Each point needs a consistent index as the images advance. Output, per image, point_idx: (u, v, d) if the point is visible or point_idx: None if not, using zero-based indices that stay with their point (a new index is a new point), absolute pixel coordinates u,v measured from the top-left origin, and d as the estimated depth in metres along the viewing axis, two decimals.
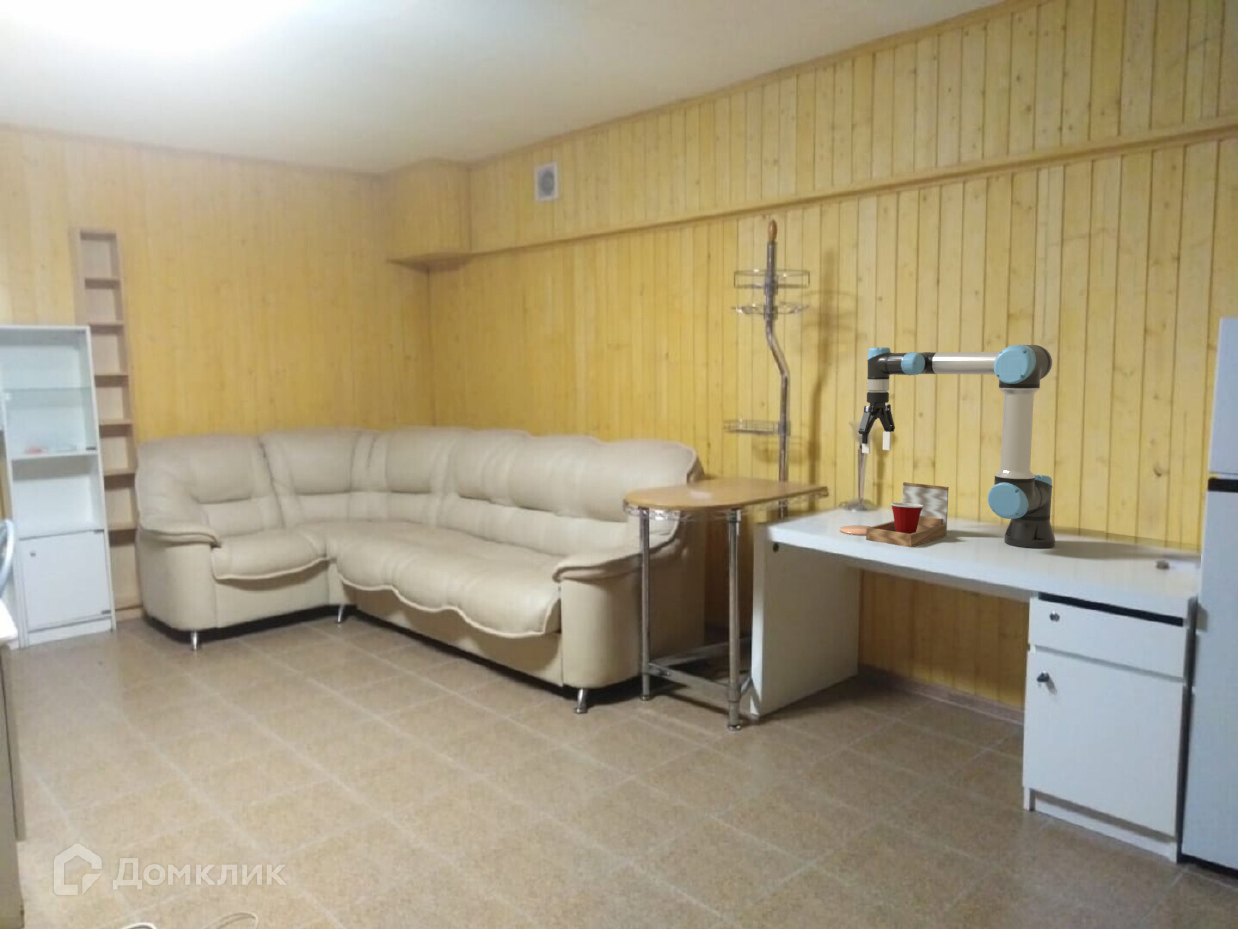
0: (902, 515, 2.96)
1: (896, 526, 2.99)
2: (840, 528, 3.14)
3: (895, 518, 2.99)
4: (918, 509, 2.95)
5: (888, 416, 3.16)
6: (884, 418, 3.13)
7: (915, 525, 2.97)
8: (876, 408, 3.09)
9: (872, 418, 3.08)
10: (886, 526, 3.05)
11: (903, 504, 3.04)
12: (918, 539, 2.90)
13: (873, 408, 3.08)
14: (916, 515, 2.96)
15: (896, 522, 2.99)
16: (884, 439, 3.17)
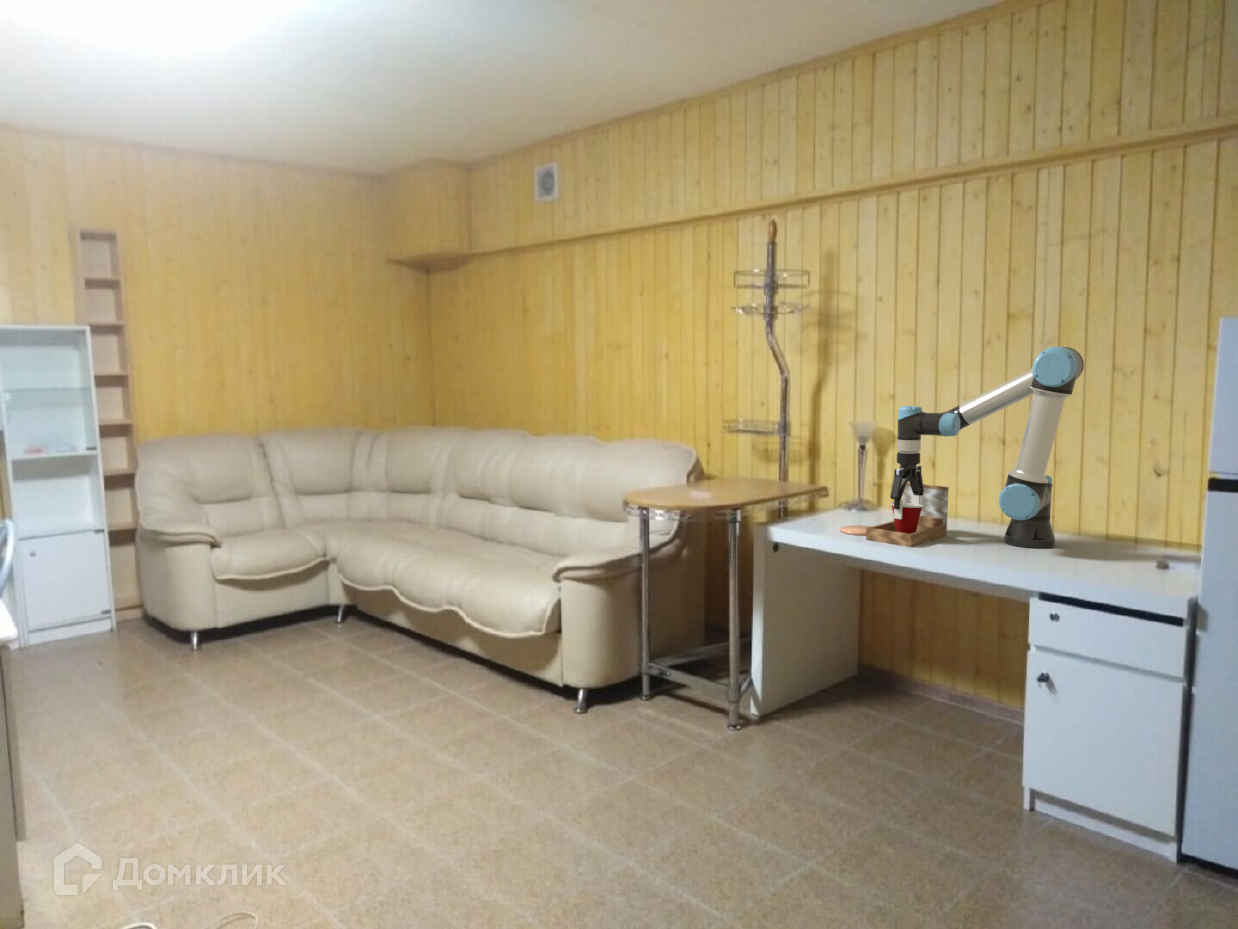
0: (902, 515, 2.96)
1: (896, 526, 2.99)
2: (840, 528, 3.14)
3: None
4: (918, 509, 2.95)
5: (918, 478, 3.02)
6: (914, 480, 2.99)
7: (915, 525, 2.97)
8: (907, 469, 2.95)
9: (903, 481, 2.95)
10: (886, 526, 3.05)
11: (903, 504, 3.04)
12: (918, 539, 2.90)
13: (904, 470, 2.94)
14: (916, 515, 2.96)
15: (896, 522, 2.99)
16: (913, 503, 3.03)
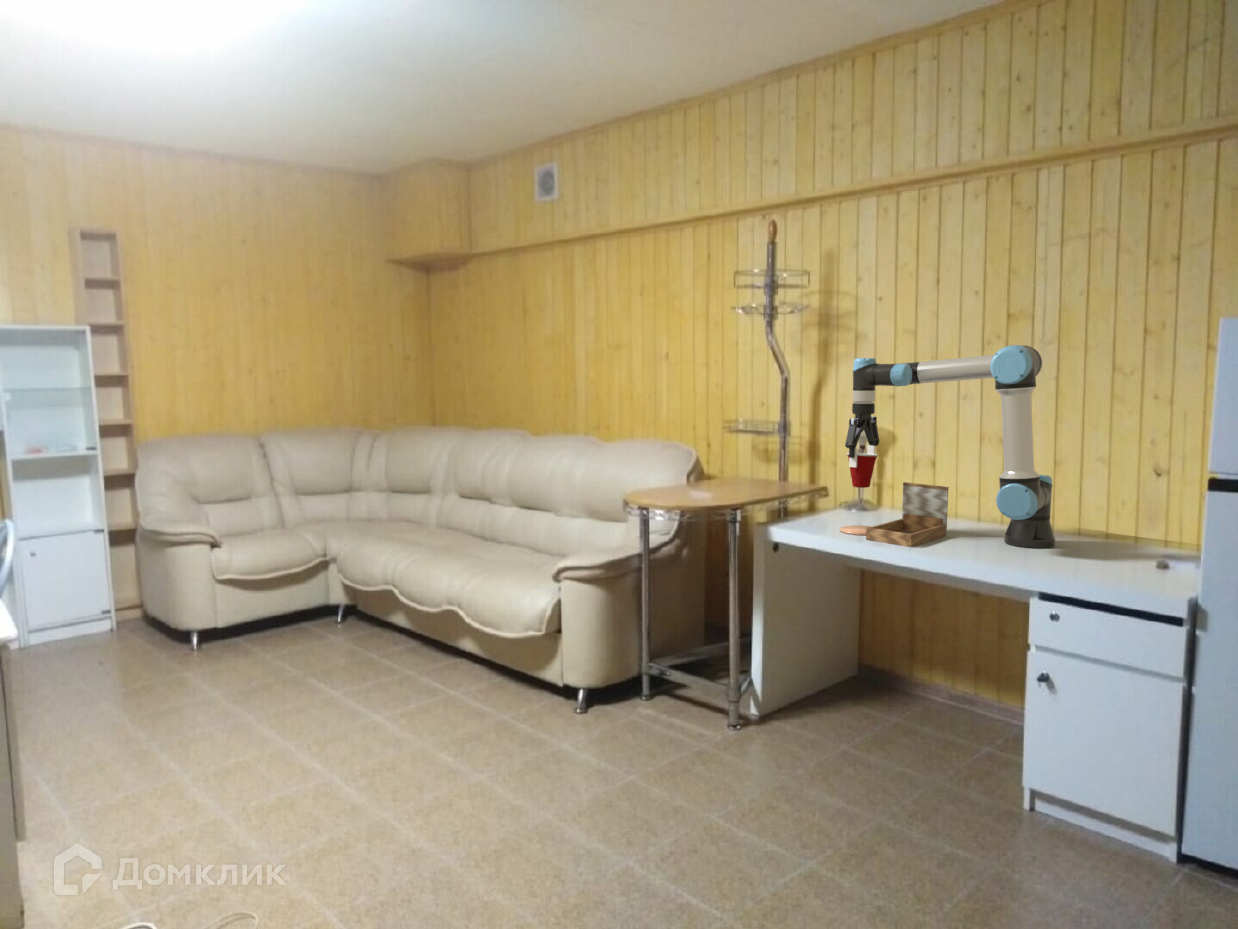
0: (857, 463, 3.05)
1: (852, 475, 3.09)
2: (840, 528, 3.14)
3: (851, 467, 3.08)
4: (872, 457, 3.05)
5: (873, 429, 3.12)
6: (869, 430, 3.09)
7: (870, 473, 3.06)
8: (862, 419, 3.05)
9: (858, 431, 3.04)
10: (886, 526, 3.05)
11: None
12: (918, 539, 2.90)
13: (858, 420, 3.04)
14: (871, 463, 3.05)
15: (851, 471, 3.08)
16: (868, 453, 3.13)
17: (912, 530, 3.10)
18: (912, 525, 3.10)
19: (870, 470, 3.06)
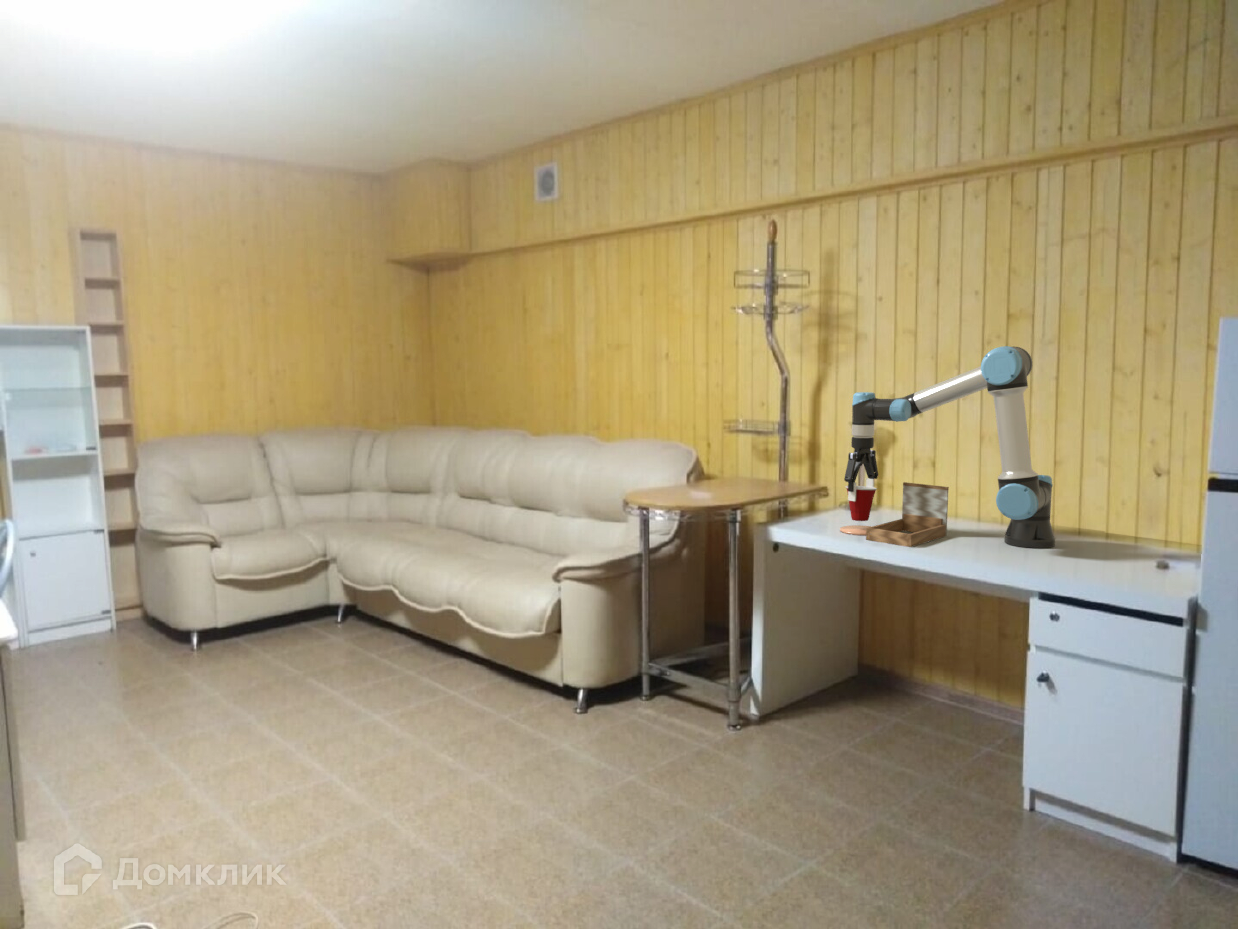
0: (856, 497, 3.07)
1: (850, 508, 3.10)
2: (840, 528, 3.14)
3: None
4: (871, 491, 3.06)
5: (872, 462, 3.13)
6: (868, 464, 3.10)
7: (868, 507, 3.08)
8: (861, 453, 3.06)
9: (857, 465, 3.06)
10: (886, 526, 3.05)
11: (858, 487, 3.15)
12: (918, 539, 2.90)
13: (858, 454, 3.05)
14: (870, 497, 3.07)
15: (850, 504, 3.10)
16: (867, 486, 3.14)
17: (912, 530, 3.10)
18: (912, 525, 3.10)
19: (869, 504, 3.08)
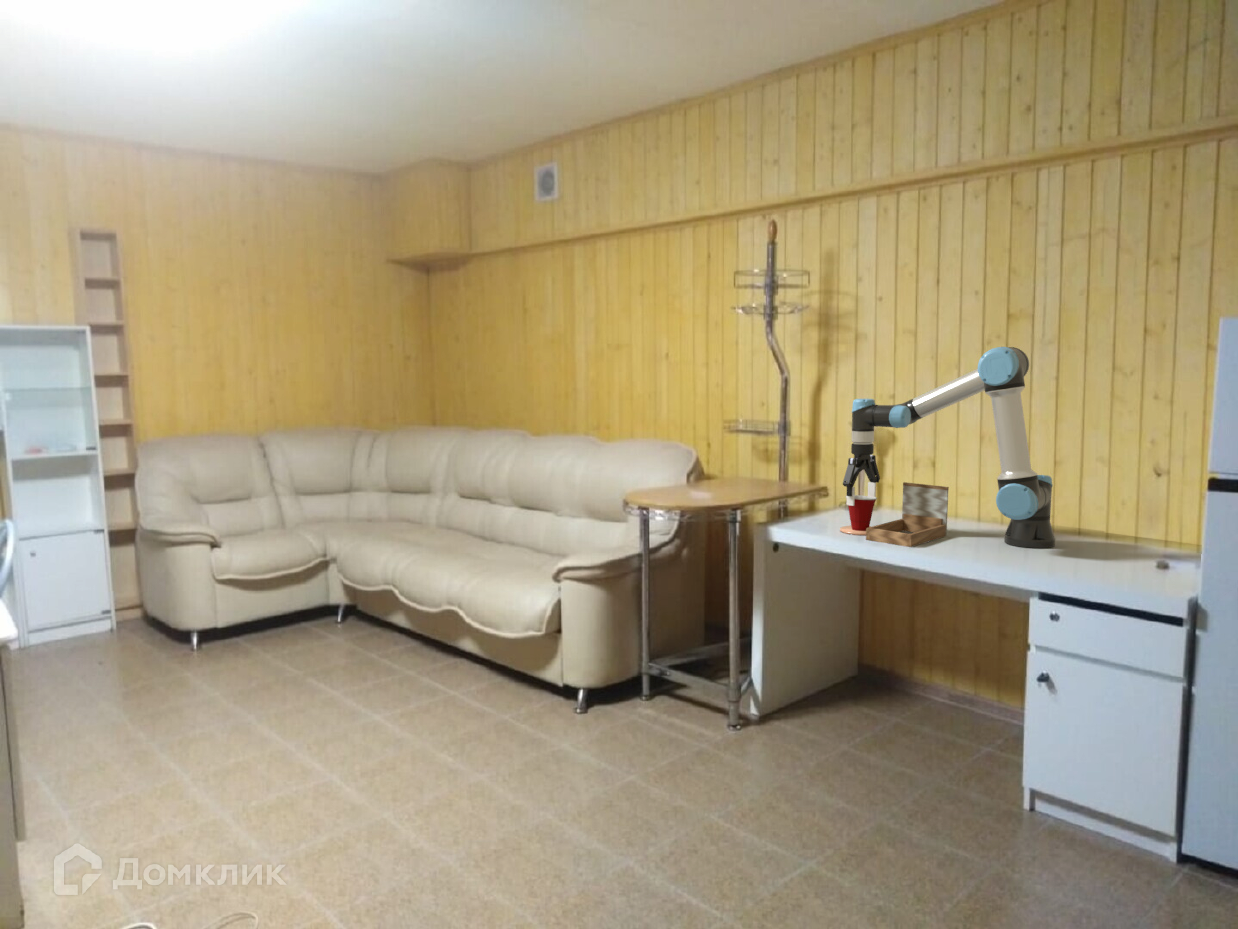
0: (856, 507, 3.07)
1: (851, 518, 3.10)
2: (840, 528, 3.14)
3: (850, 510, 3.10)
4: (871, 501, 3.06)
5: (873, 467, 3.14)
6: (869, 469, 3.11)
7: (869, 517, 3.08)
8: (861, 460, 3.06)
9: (856, 470, 3.06)
10: (886, 526, 3.05)
11: (858, 496, 3.15)
12: (918, 539, 2.90)
13: (857, 460, 3.06)
14: (870, 507, 3.07)
15: (851, 514, 3.10)
16: (869, 490, 3.15)
17: (912, 530, 3.10)
18: (912, 525, 3.10)
19: (869, 513, 3.08)
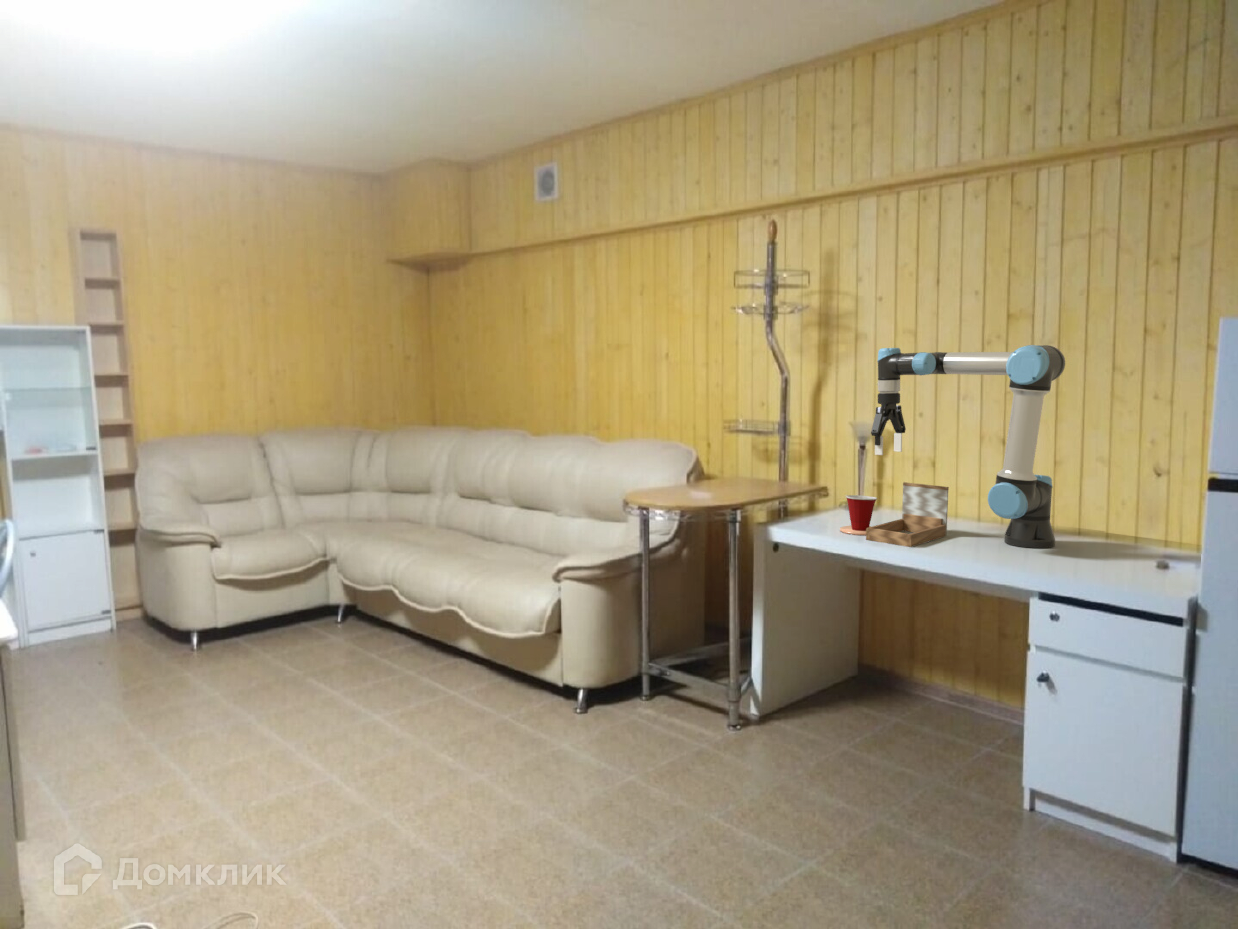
0: (856, 507, 3.07)
1: (851, 518, 3.10)
2: (840, 528, 3.14)
3: (850, 510, 3.10)
4: (871, 501, 3.07)
5: (899, 417, 3.13)
6: (895, 419, 3.10)
7: (869, 517, 3.08)
8: (888, 409, 3.06)
9: (884, 419, 3.05)
10: (886, 526, 3.05)
11: (858, 497, 3.15)
12: (918, 539, 2.90)
13: (885, 409, 3.05)
14: (870, 507, 3.07)
15: (851, 514, 3.10)
16: (895, 440, 3.14)
17: (912, 530, 3.10)
18: (912, 525, 3.10)
19: (869, 513, 3.08)
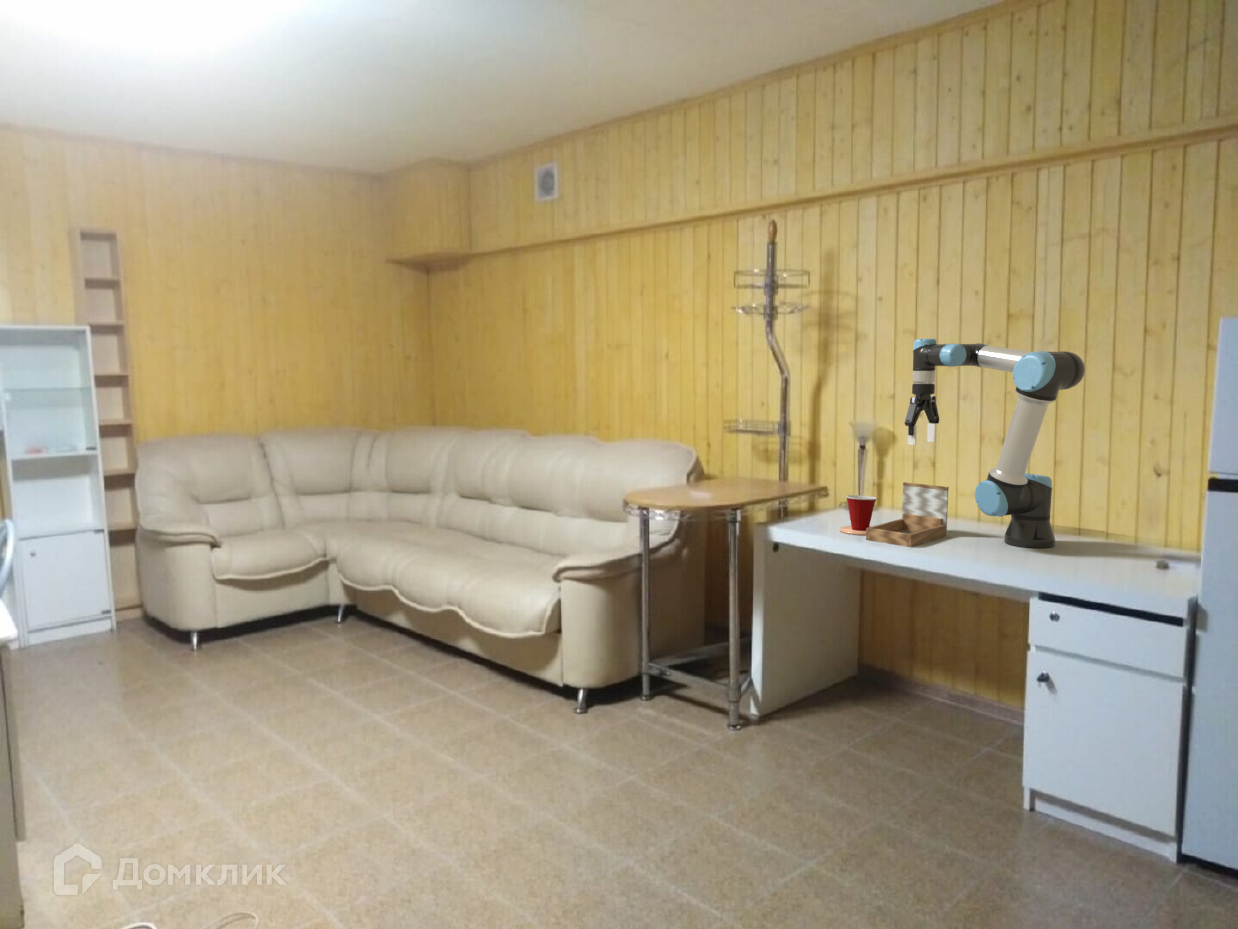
0: (856, 507, 3.07)
1: (851, 518, 3.10)
2: (840, 528, 3.14)
3: (850, 510, 3.10)
4: (871, 501, 3.07)
5: (933, 408, 3.15)
6: (929, 410, 3.12)
7: (869, 517, 3.08)
8: (922, 400, 3.08)
9: (918, 410, 3.07)
10: (886, 526, 3.05)
11: (858, 497, 3.15)
12: (918, 539, 2.90)
13: (919, 399, 3.07)
14: (870, 507, 3.07)
15: (851, 514, 3.10)
16: (929, 431, 3.17)
17: (912, 530, 3.10)
18: (912, 525, 3.10)
19: (869, 513, 3.08)
